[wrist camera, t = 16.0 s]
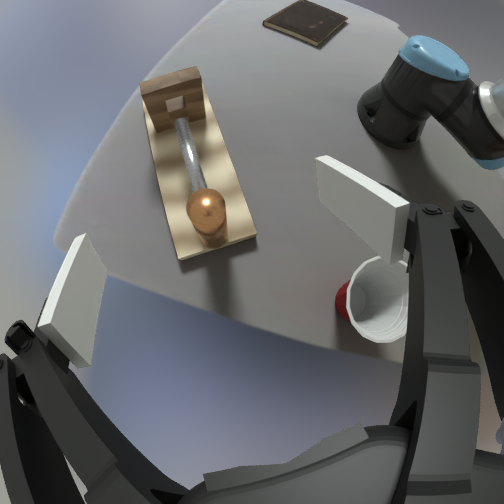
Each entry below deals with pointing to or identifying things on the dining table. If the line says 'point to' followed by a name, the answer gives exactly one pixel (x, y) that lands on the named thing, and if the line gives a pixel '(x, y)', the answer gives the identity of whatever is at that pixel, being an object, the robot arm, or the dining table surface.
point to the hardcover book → (306, 21)
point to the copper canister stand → (208, 150)
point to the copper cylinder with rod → (202, 194)
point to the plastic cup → (376, 300)
